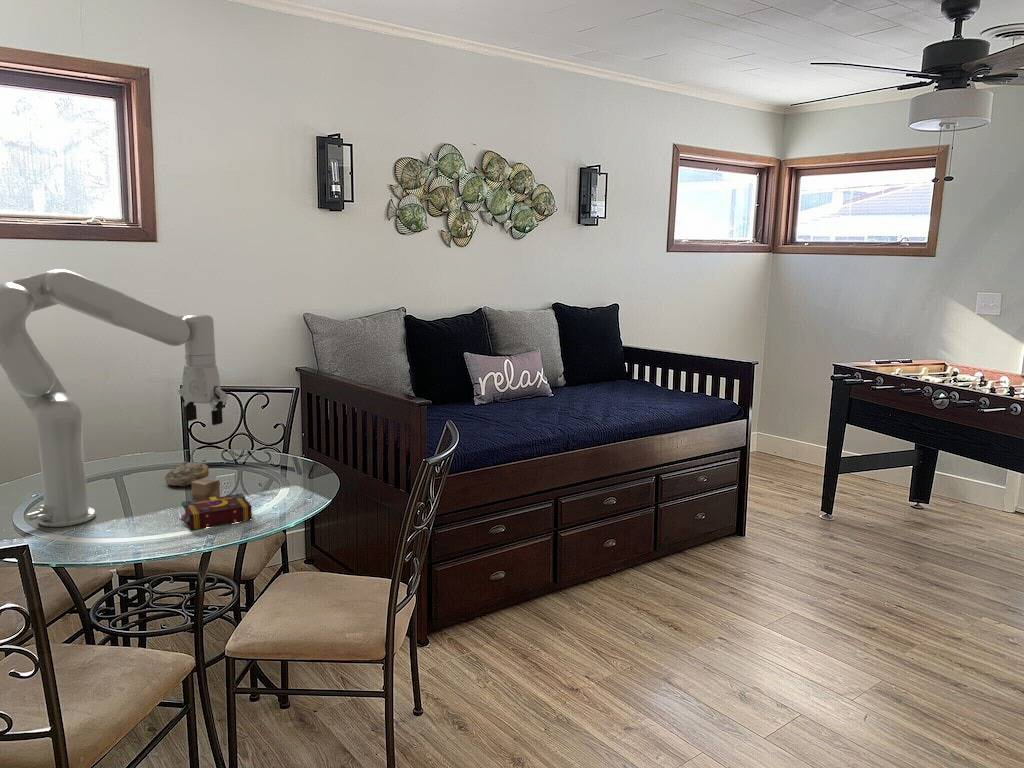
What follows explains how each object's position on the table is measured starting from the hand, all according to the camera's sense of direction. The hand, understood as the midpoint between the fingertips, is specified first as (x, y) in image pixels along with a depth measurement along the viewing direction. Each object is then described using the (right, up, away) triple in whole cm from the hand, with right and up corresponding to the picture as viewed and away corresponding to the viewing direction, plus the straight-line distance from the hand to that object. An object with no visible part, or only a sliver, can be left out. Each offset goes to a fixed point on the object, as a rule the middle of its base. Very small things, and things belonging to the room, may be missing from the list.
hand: (204, 422), depth 216 cm
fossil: (-11, -19, +15) cm, 26 cm away
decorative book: (+9, -25, -15) cm, 30 cm away
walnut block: (+1, -22, -2) cm, 22 cm away
